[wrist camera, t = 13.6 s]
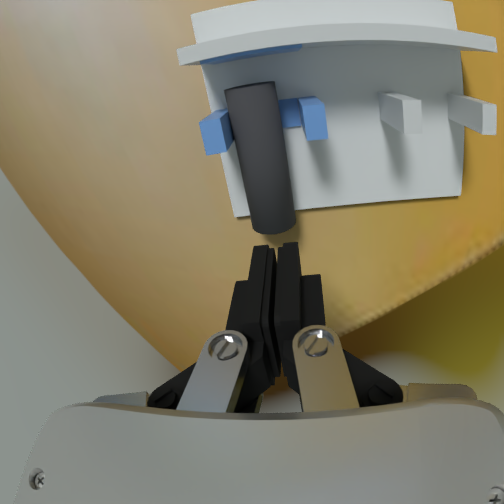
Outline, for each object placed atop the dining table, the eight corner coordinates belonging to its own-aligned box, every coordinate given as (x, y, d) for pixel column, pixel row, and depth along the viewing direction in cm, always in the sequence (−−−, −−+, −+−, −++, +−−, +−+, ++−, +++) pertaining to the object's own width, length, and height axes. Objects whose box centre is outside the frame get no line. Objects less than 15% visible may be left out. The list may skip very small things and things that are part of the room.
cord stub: (240, 84, 20) (213, 93, 18) (282, 79, 18) (259, 86, 16) (264, 210, 25) (244, 231, 23) (302, 214, 24) (284, 237, 22)
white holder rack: (192, 15, 17) (166, 2, 13) (449, 2, 14) (487, -6, 10) (235, 214, 26) (224, 251, 21) (458, 193, 23) (489, 224, 18)
